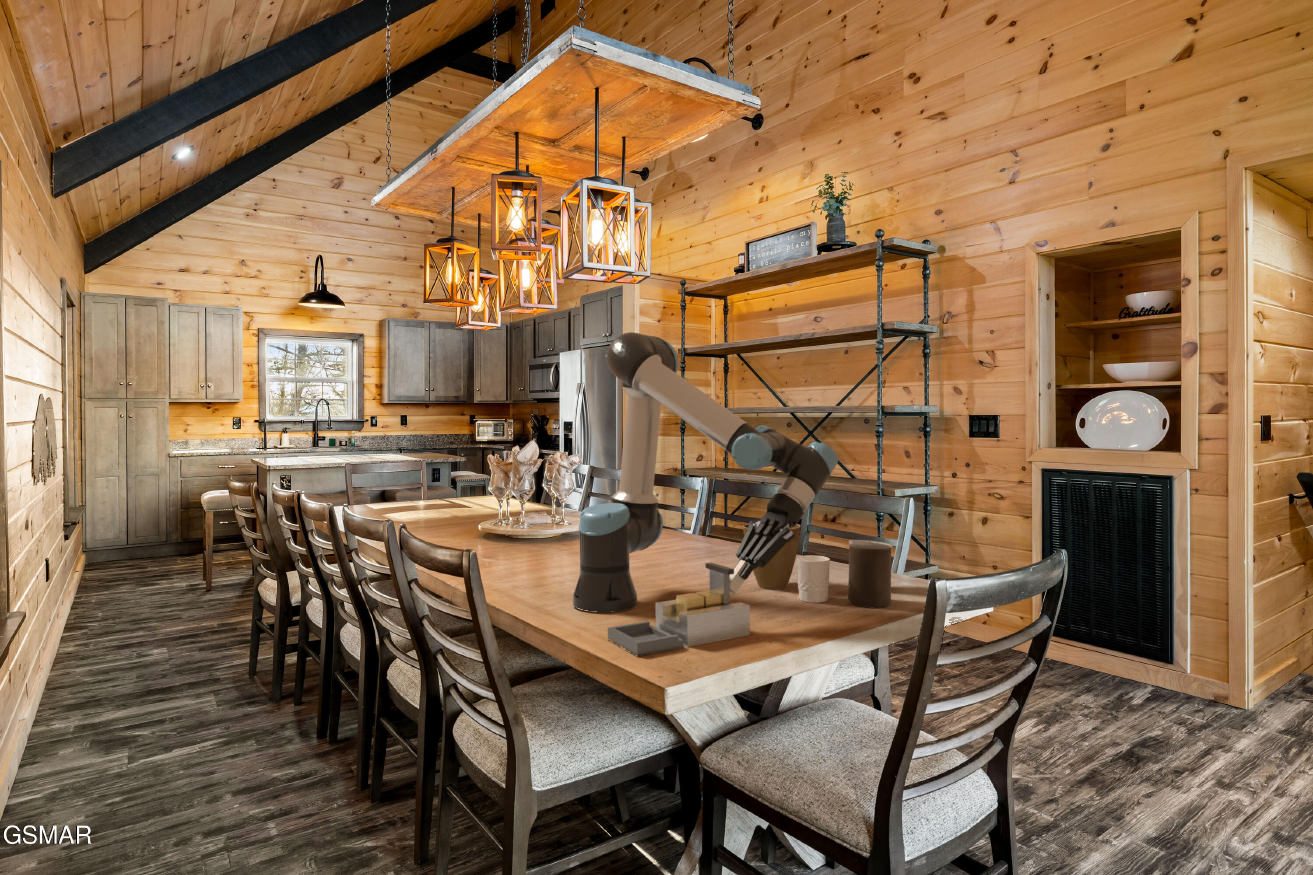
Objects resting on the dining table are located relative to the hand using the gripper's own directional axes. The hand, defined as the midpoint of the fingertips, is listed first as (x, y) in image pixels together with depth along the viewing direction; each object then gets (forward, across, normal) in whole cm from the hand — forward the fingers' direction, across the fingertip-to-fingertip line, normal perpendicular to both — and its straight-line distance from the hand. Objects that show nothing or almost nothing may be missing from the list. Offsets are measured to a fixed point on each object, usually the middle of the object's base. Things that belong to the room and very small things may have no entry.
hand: (729, 588), depth 151 cm
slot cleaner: (+4, +1, -2) cm, 5 cm away
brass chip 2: (+7, +1, 0) cm, 7 cm away
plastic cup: (-30, +10, -44) cm, 54 cm away
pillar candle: (-23, 0, -36) cm, 42 cm away
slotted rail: (+11, +1, -1) cm, 11 cm away
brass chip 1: (+10, +1, +4) cm, 10 cm away
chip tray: (+20, +1, +8) cm, 22 cm away
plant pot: (-17, +26, -30) cm, 43 cm away
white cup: (-16, +9, -29) cm, 35 cm away
